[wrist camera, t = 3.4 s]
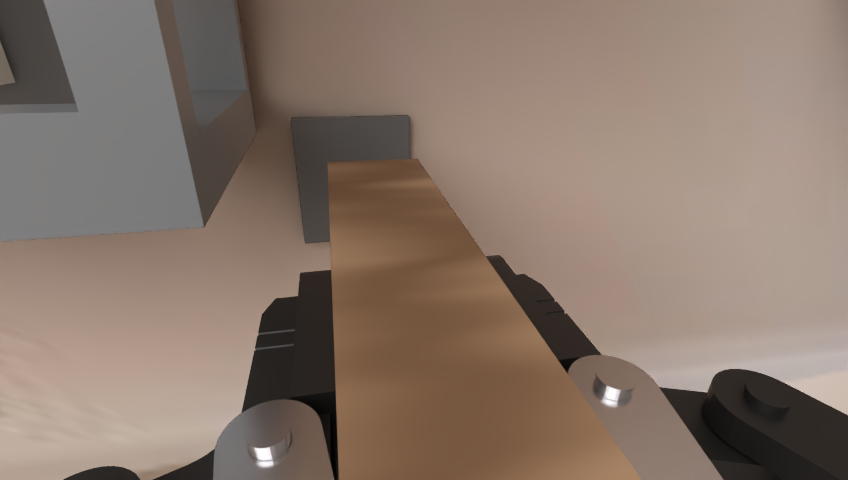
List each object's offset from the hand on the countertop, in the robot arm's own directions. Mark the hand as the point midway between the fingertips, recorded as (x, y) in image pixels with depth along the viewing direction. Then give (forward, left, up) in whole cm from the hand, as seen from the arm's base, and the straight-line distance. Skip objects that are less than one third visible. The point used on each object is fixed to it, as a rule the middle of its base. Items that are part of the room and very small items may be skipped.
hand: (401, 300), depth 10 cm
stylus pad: (0, 0, -9) cm, 9 cm away
